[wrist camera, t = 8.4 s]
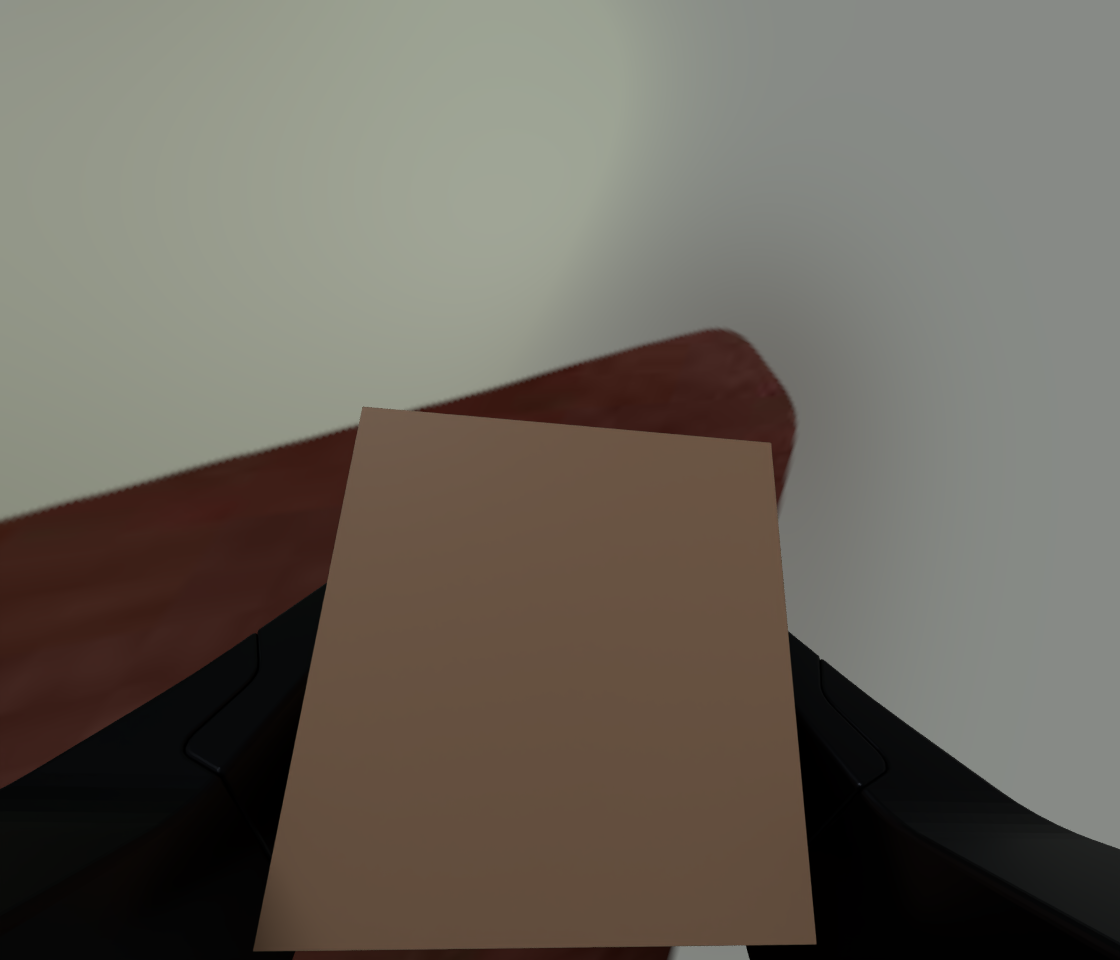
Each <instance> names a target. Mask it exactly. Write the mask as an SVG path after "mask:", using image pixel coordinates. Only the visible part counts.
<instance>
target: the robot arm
mask: <svg viewBox="0 0 1120 960" xmlns="http://www.w3.org/2000/svg"><path fill="white" fill-rule="evenodd" d="M326 586H327V583H326V584H324V585H323V586H321V587H320V588H319V589H317V590H316V591H314V592H313V593H311V594H310V595H308V596H307V597H305V598H304V599H303V600H301V601H300V602H298V603H297V604H295V605H294V606H292V607H291V608H290V609H288V610H287V611H285V612H284V613H282V614H281V615H279V616H278V617H277V618H275V619H274V620H272V621H271V622H269V623H268V624H266V625H265V626H264V627H262V628H261V629H259V630H258V635H257V634H256V633H254V634H252V635H250V636H249V637H247V638H246V639H244V640H243V641H242V642H240V643H239V644H237V645H236V646H234V647H233V648H231V649H230V650H228V651H227V652H225V653H224V654H222V655H221V656H219V657H218V658H216V659H215V660H213V661H212V662H210V663H209V664H207V665H206V666H204V667H203V668H201V669H200V670H198V671H197V672H195V673H194V674H192V675H191V676H189V677H187V678H186V679H184V680H182V681H181V682H179V683H178V684H176V685H174V686H173V687H171V688H170V689H168V690H166V691H165V692H163V693H162V694H160V695H158V696H157V697H155V698H153V699H152V700H150V701H149V702H147V703H145V704H144V705H142V706H140V707H139V708H137V709H135V710H134V711H132V712H130V713H129V714H127V715H125V716H124V717H122V718H120V719H119V720H117V721H115V722H114V723H112V724H110V725H109V726H107V727H105V728H104V729H102V730H100V731H99V732H97V733H95V734H94V735H92V736H90V737H89V738H87V739H85V740H84V741H82V742H80V743H79V744H77V745H75V746H74V747H72V748H70V749H69V750H67V751H65V752H64V753H62V754H60V755H59V756H57V757H55V758H54V759H52V760H50V761H49V762H47V763H45V764H44V765H42V766H40V767H39V768H37V769H35V770H34V771H32V772H30V773H28V774H27V775H25V776H23V777H21V778H20V779H18V780H16V781H14V782H13V783H11V784H9V785H7V786H5V787H3V788H1V789H0V960H292V959H293V956H294V953H295V951H253V949H254V944H255V939H256V934H257V929H258V924H259V919H260V914H261V909H262V904H263V899H264V894H265V889H266V884H267V879H268V874H269V869H270V864H271V859H272V854H273V849H274V845H275V840H276V835H277V830H278V825H279V820H280V815H281V810H282V805H283V800H284V795H285V790H286V785H287V780H288V775H289V770H290V765H291V760H292V755H293V750H294V745H295V740H296V735H297V730H298V725H299V720H300V715H301V710H302V705H303V700H304V695H305V690H306V685H307V680H308V676H309V671H310V666H311V661H312V656H313V651H314V646H315V641H316V636H317V631H318V626H319V621H320V616H321V611H322V606H323V601H324V596H325V591H326ZM788 637H789V648H790V659H791V670H792V681H793V692H794V703H795V713H796V724H797V735H798V746H799V757H800V768H801V779H802V790H803V801H804V812H805V823H806V834H807V845H808V856H809V867H810V878H811V889H812V900H813V911H814V922H815V933H816V944H806V945H746V947H747V951H748V955H749V958H750V960H1120V849H1118V848H1115V847H1112V846H1109V845H1106V844H1103V843H1101V842H1098V841H1095V840H1092V839H1089V838H1087V837H1085V836H1082V835H1079V834H1077V833H1075V832H1072V831H1070V830H1068V829H1065V828H1063V827H1061V826H1059V825H1057V824H1055V823H1053V822H1051V821H1049V820H1047V819H1045V818H1043V817H1041V816H1039V815H1037V814H1035V813H1034V812H1032V811H1030V810H1029V809H1027V808H1025V807H1024V806H1022V805H1020V804H1018V803H1017V802H1016V801H1014V800H1013V799H1011V798H1010V797H1008V796H1007V795H1005V794H1004V793H1002V792H1001V791H999V790H998V789H997V788H995V787H994V786H992V785H991V784H990V783H988V782H987V781H986V780H984V779H983V778H981V777H980V776H979V775H977V774H976V773H974V772H973V771H971V770H970V769H969V768H967V767H966V766H965V765H963V764H962V763H960V762H959V761H958V760H956V759H955V758H954V757H952V756H951V755H949V754H948V753H946V752H945V751H944V750H942V749H941V748H940V747H938V746H937V745H935V744H934V743H933V742H931V741H930V740H928V739H927V738H926V737H924V736H923V735H922V734H920V733H919V732H917V731H916V730H914V729H913V728H912V727H910V726H909V725H908V724H906V723H905V722H904V721H902V720H901V719H899V718H898V717H897V716H895V715H894V714H893V713H891V712H890V711H889V710H887V709H886V708H885V707H883V706H882V705H880V704H879V703H878V702H876V701H875V700H874V699H872V698H871V697H870V696H868V695H867V694H866V693H865V692H863V691H862V690H861V689H859V688H858V687H857V686H856V685H854V684H853V683H852V682H851V681H849V680H848V679H847V678H845V677H844V676H843V675H842V674H840V673H839V672H838V671H837V670H836V669H834V668H833V667H832V666H831V665H829V664H828V663H827V662H826V661H824V660H822V659H821V660H820V658H819V656H818V655H817V654H815V653H814V652H813V651H812V650H811V649H809V648H808V647H807V646H806V645H804V644H803V643H802V642H801V641H800V640H798V639H797V638H796V637H795V636H793V635H792V634H791V633H790V632H788Z"/></svg>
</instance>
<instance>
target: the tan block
mask: <svg viewBox="0 0 1120 960" xmlns="http://www.w3.org/2000/svg"><path fill="white" fill-rule="evenodd" d="M806 944H816V933H815V922H814V911H813V900H812V889H811V878H810V867H809V856H808V845H807V834H806V823H805V812H804V801H803V790H802V779H801V768H800V757H799V746H798V735H797V724H796V713H795V703H794V692H793V681H792V670H791V659H790V648H789V637H788V626H787V615H786V604H785V593H784V582H783V571H782V560H781V549H780V538H779V527H778V516H777V505H776V494H775V483H774V472H773V461H772V450H771V443H765V442H754V441H743V440H732V439H720V438H709V437H698V436H687V435H675V434H664V433H653V432H642V431H630V430H619V429H608V428H597V427H585V426H574V425H563V424H552V423H540V422H529V421H518V420H507V419H496V418H484V417H473V416H462V415H451V414H439V413H428V412H417V411H406V410H394V409H383V408H372V407H362V412H361V417H360V422H359V427H358V432H357V437H356V442H355V447H354V452H353V457H352V462H351V467H350V472H349V477H348V482H347V487H346V492H345V497H344V502H343V506H342V511H341V516H340V521H339V526H338V531H337V536H336V541H335V546H334V551H333V556H332V561H331V566H330V571H329V576H328V581H327V586H326V591H325V596H324V601H323V606H322V611H321V616H320V621H319V626H318V631H317V636H316V641H315V646H314V651H313V656H312V661H311V666H310V671H309V676H308V680H307V685H306V690H305V695H304V700H303V705H302V710H301V715H300V720H299V725H298V730H297V735H296V740H295V745H294V750H293V755H292V760H291V765H290V770H289V775H288V780H287V785H286V790H285V795H284V800H283V805H282V810H281V815H280V820H279V825H278V830H277V835H276V840H275V845H274V849H273V854H272V859H271V864H270V869H269V874H268V879H267V884H266V889H265V894H264V899H263V904H262V909H261V914H260V919H259V924H258V929H257V934H256V939H255V944H254V949H253V951H324V950H404V949H484V948H565V947H645V946H724V945H806Z"/></svg>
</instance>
